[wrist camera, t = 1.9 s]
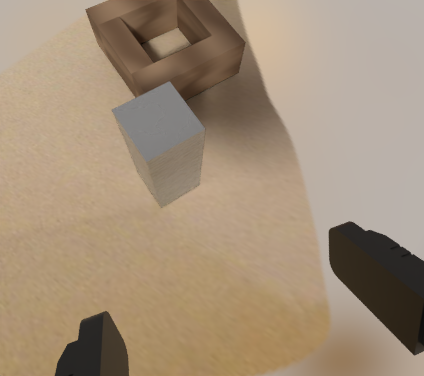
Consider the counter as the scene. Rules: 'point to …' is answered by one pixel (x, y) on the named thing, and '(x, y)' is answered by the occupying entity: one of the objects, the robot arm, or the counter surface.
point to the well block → (158, 24)
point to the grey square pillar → (163, 141)
